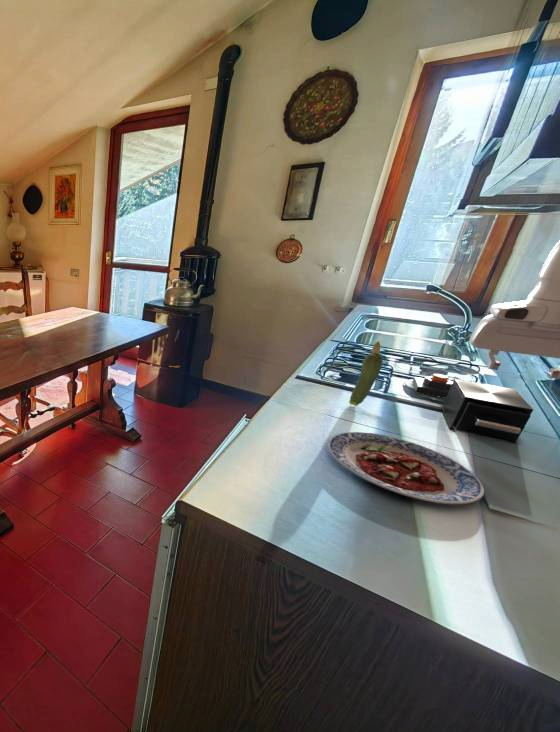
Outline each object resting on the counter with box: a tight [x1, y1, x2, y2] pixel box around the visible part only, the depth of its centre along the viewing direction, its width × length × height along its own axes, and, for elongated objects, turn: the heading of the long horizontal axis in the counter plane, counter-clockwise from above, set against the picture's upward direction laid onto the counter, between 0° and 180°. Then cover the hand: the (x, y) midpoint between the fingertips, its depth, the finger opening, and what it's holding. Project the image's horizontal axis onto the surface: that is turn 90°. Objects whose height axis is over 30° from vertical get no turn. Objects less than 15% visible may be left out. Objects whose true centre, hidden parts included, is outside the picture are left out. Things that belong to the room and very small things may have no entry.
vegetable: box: [348, 340, 384, 407], centre depth 110 cm, size 4×4×20 cm
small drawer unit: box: [455, 400, 532, 444], centre depth 98 cm, size 18×10×8 cm, turn 144°
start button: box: [431, 373, 450, 383], centre depth 122 cm, size 4×4×2 cm
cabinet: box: [440, 378, 534, 432], centre depth 102 cm, size 15×12×10 cm
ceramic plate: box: [327, 431, 485, 505], centre depth 84 cm, size 26×26×3 cm
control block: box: [411, 375, 454, 399], centre depth 123 cm, size 10×10×4 cm
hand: (521, 373), depth 88 cm, fingers open, 8 cm apart
